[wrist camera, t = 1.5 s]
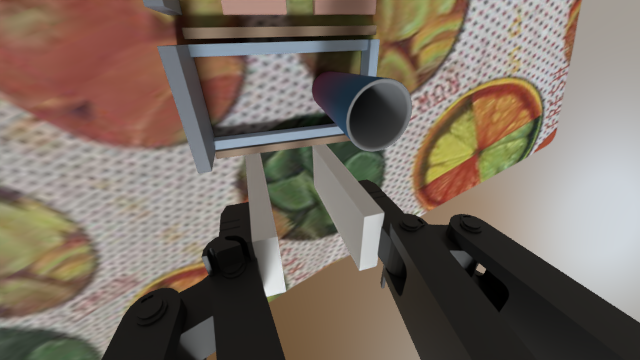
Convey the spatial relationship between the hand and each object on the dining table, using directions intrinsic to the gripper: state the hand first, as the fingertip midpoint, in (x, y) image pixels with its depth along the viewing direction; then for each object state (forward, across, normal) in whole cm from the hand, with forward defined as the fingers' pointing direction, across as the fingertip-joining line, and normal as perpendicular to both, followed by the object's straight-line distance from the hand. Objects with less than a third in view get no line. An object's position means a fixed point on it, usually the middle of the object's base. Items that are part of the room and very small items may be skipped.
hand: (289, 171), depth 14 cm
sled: (+22, +4, 0) cm, 23 cm away
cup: (+23, +10, 0) cm, 25 cm away
